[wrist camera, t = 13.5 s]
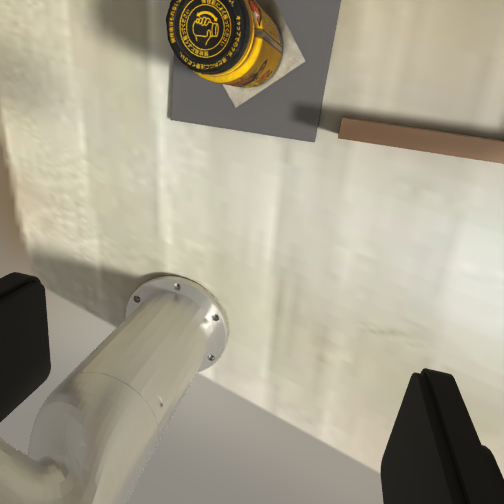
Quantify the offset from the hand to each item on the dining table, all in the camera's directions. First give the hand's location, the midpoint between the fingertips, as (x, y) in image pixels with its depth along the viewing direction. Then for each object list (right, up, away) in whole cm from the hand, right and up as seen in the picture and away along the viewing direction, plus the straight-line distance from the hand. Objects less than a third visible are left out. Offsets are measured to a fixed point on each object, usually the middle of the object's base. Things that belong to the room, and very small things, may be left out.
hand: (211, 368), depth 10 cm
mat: (+1, +21, +25) cm, 33 cm away
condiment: (+1, +21, +25) cm, 33 cm away
